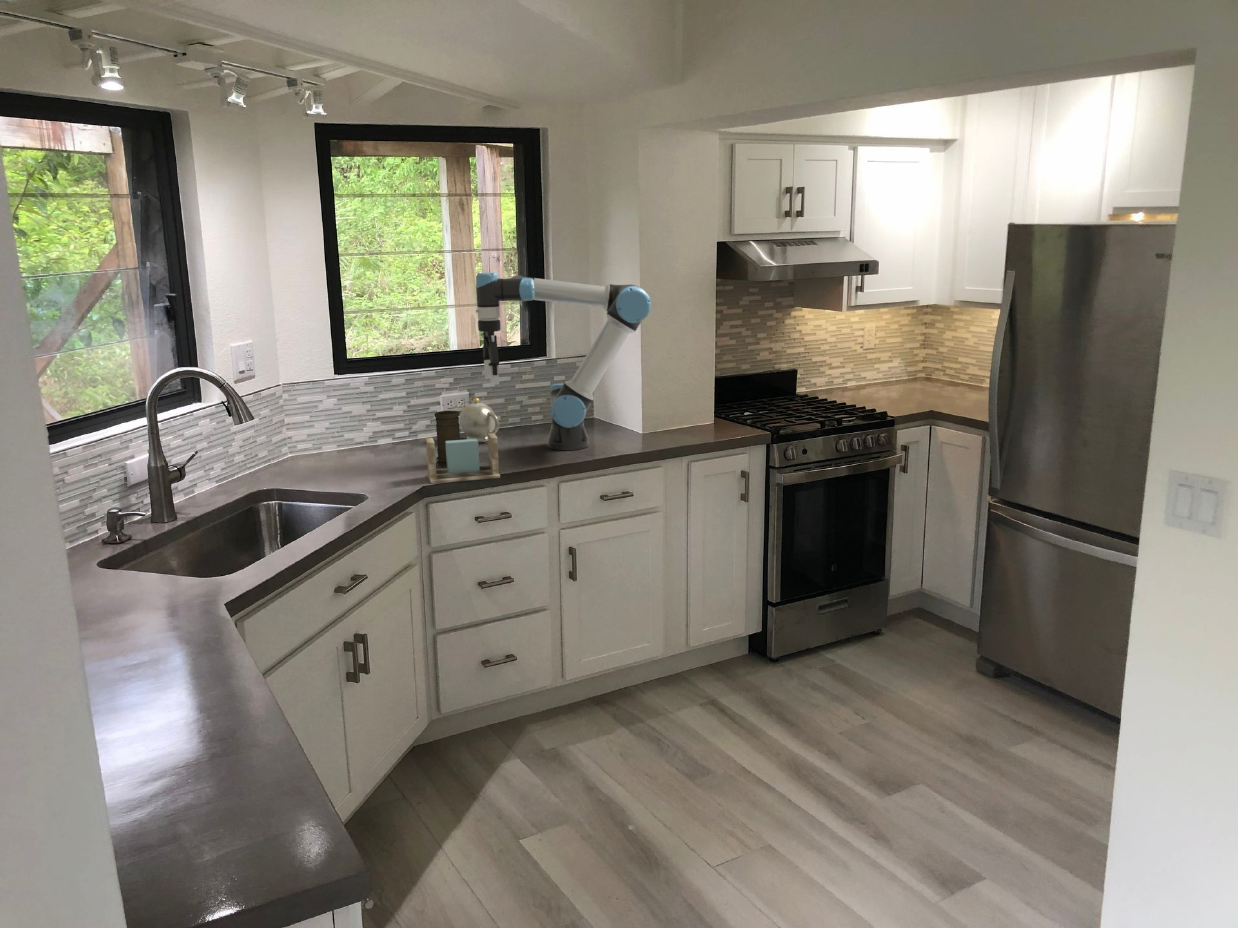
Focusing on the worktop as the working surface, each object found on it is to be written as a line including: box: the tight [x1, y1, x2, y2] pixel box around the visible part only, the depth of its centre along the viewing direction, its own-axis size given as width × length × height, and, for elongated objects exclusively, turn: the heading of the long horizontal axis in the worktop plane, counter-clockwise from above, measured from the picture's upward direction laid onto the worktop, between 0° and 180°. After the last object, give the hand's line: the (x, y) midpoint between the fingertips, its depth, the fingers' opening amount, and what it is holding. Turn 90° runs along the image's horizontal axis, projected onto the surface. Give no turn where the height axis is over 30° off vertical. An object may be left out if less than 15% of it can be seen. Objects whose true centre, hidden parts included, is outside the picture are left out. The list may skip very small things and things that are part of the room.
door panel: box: [445, 438, 480, 474], centre depth 313 cm, size 10×4×11 cm, turn 106°
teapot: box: [458, 397, 500, 444], centre depth 362 cm, size 18×14×16 cm
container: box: [434, 410, 461, 468], centre depth 328 cm, size 9×9×18 cm
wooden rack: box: [425, 433, 501, 484], centre depth 313 cm, size 22×11×13 cm, turn 106°
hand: (491, 381), depth 333 cm, fingers open, 13 cm apart
